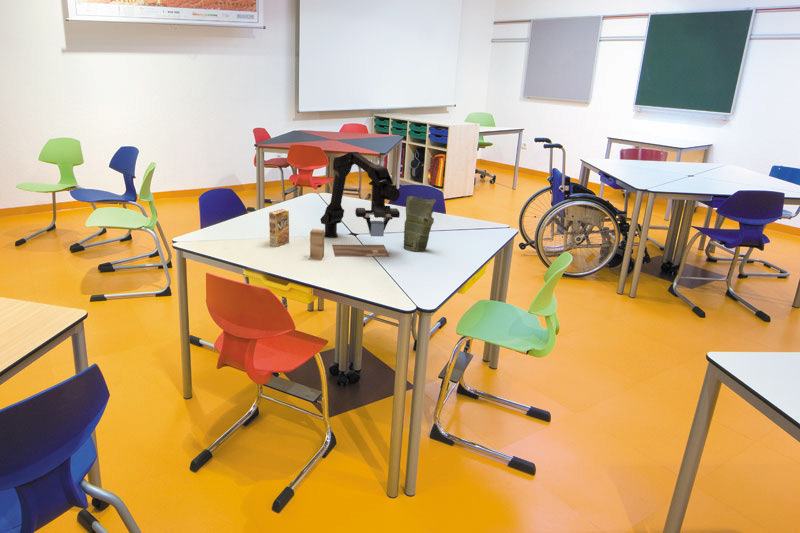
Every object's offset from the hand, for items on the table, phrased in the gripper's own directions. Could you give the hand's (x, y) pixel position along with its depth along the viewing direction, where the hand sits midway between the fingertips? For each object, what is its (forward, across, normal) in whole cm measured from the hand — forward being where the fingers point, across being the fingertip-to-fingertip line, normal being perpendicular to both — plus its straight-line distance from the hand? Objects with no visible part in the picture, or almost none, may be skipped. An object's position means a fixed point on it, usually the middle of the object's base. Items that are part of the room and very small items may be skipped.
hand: (376, 231), depth 246 cm
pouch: (+10, +20, +6) cm, 23 cm away
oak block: (+10, -26, -5) cm, 28 cm away
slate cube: (+1, 0, 0) cm, 1 cm away
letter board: (+10, -6, +3) cm, 12 cm away
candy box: (+11, -42, +14) cm, 45 cm away
